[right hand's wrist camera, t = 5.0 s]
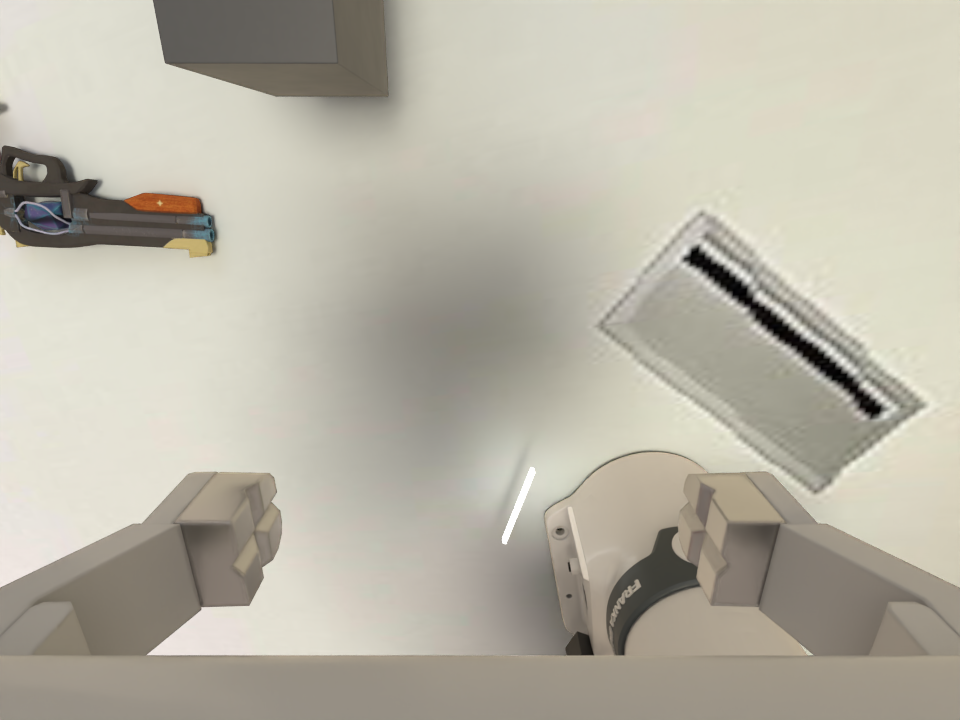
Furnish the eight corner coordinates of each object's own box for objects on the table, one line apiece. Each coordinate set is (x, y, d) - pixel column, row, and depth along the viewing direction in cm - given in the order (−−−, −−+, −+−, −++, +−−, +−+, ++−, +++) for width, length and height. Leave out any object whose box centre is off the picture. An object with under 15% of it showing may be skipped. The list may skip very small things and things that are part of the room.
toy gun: (-107, 90, 34) (-75, 245, 37) (195, 112, 36) (206, 259, 38) (-68, 99, 37) (-41, 244, 39) (212, 120, 39) (221, 257, 41)
